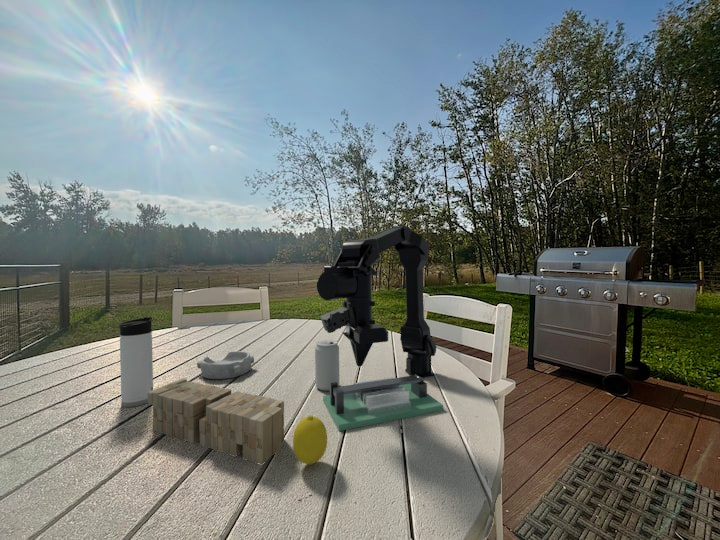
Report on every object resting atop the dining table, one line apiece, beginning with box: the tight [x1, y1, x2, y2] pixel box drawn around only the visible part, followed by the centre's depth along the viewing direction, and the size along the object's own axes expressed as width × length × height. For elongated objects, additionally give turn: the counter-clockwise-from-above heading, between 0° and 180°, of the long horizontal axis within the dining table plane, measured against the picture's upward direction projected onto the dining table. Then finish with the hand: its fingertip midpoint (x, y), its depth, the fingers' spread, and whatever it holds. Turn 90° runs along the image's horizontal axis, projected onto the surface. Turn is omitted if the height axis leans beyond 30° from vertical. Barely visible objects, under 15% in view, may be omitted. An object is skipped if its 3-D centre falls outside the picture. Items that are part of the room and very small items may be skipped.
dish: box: [196, 350, 255, 380], centre depth 94 cm, size 14×14×5 cm
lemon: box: [292, 414, 328, 466], centre depth 50 cm, size 6×6×8 cm
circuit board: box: [322, 384, 444, 432], centre depth 70 cm, size 24×14×1 cm, turn 110°
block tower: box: [147, 378, 285, 464], centre depth 59 cm, size 8×8×29 cm
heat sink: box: [329, 376, 428, 414], centre depth 70 cm, size 22×10×5 cm, turn 110°
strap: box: [333, 374, 425, 396], centre depth 70 cm, size 22×3×1 cm, turn 110°
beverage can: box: [314, 339, 341, 392], centre depth 81 cm, size 6×6×12 cm
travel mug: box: [119, 316, 154, 408], centre depth 74 cm, size 6×7×20 cm
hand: (359, 365), depth 68 cm, fingers closed
